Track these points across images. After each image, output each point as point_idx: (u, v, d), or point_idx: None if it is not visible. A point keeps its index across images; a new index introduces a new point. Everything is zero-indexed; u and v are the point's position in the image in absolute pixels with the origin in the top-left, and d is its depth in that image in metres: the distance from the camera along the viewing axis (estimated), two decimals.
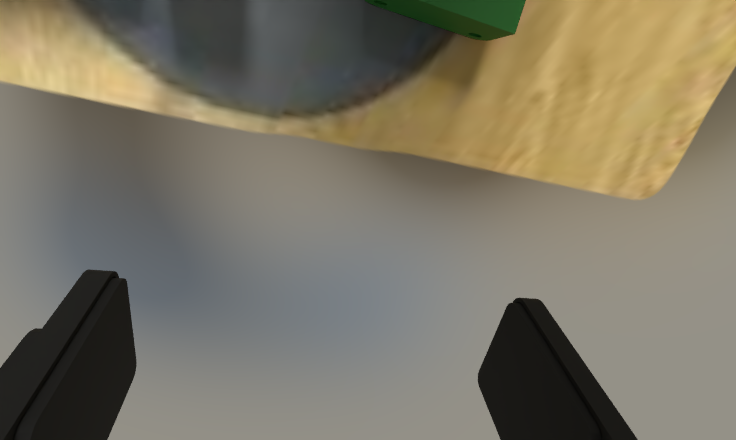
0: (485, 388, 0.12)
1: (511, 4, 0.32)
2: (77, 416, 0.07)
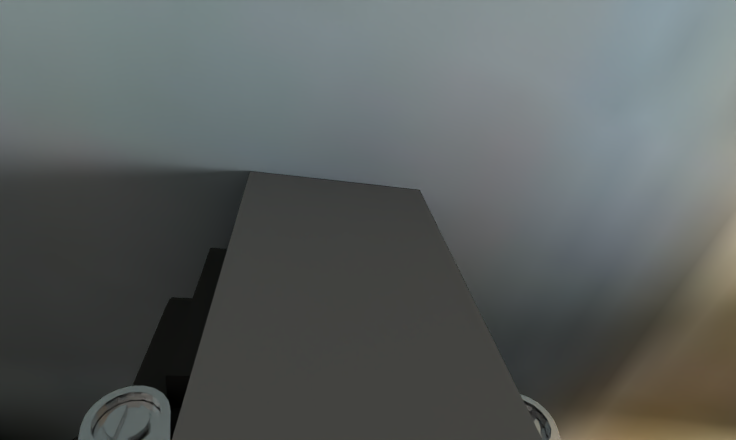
0: None
1: None
2: None
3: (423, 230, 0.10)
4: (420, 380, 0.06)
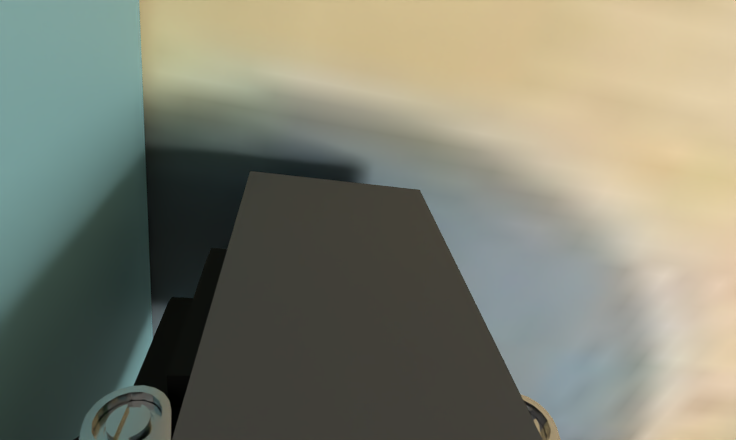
0: None
1: None
2: None
3: (423, 229, 0.10)
4: (419, 380, 0.06)
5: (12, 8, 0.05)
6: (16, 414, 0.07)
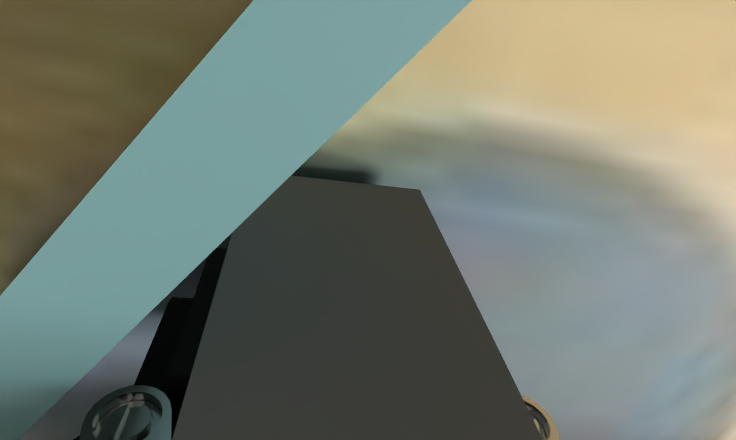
0: None
1: None
2: None
3: (423, 229, 0.10)
4: (419, 380, 0.06)
5: None
6: None
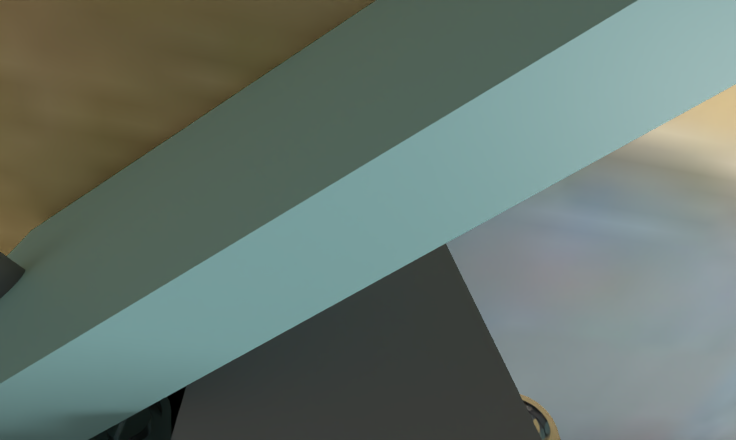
0: None
1: None
2: None
3: None
4: (418, 380, 0.06)
5: None
6: None
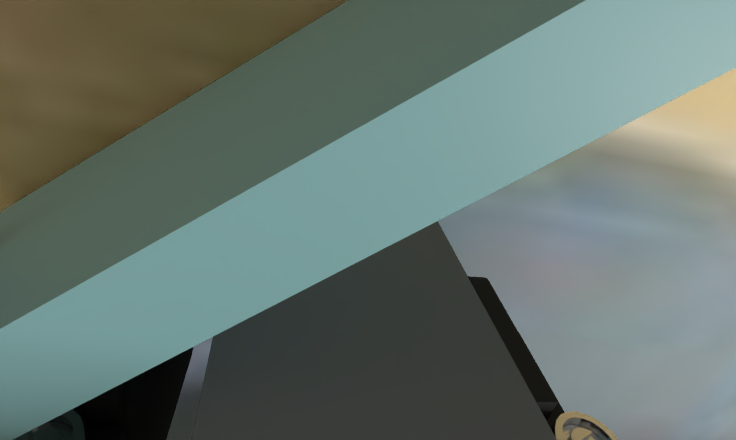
0: None
1: None
2: (161, 382, 0.08)
3: None
4: (422, 351, 0.07)
5: None
6: None
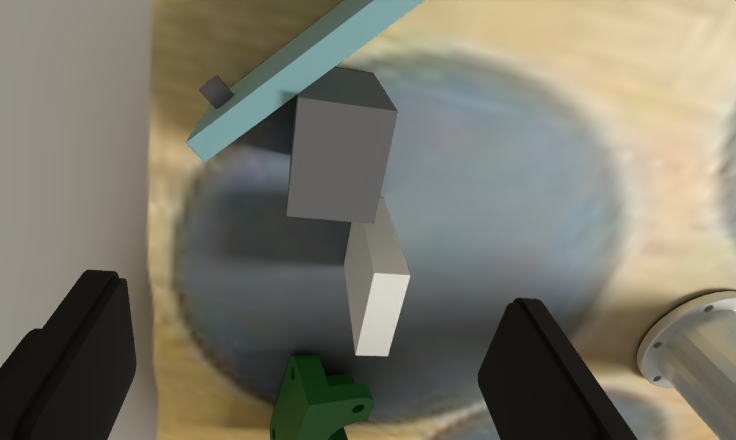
0: (485, 388, 0.12)
1: None
2: (77, 416, 0.07)
3: (371, 80, 0.25)
4: (362, 97, 0.21)
5: None
6: None
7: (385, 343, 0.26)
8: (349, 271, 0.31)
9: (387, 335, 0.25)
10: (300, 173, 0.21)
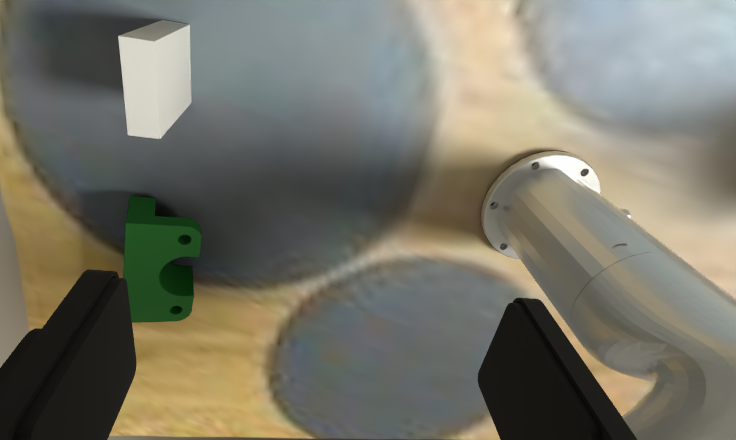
0: (485, 388, 0.12)
1: (143, 314, 0.41)
2: (77, 416, 0.07)
3: None
4: None
5: None
6: None
7: (153, 123, 0.28)
8: None
9: (152, 113, 0.28)
10: None
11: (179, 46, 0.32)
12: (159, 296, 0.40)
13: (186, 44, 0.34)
